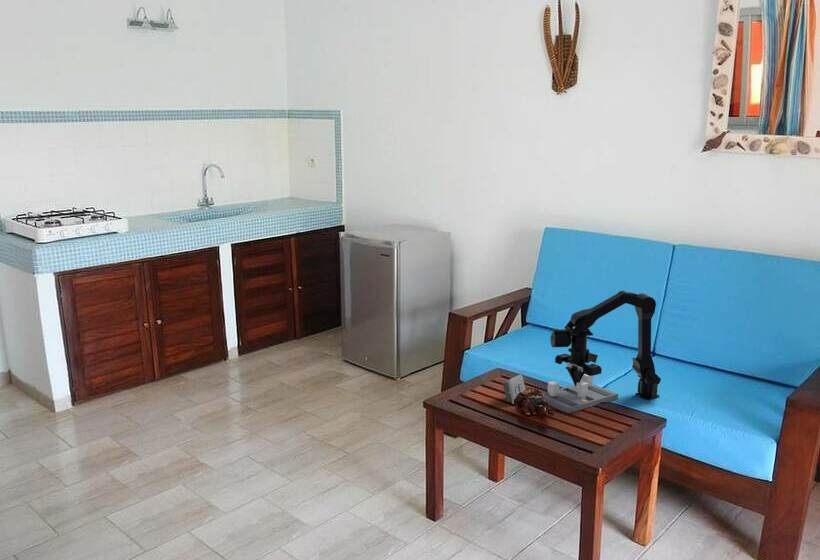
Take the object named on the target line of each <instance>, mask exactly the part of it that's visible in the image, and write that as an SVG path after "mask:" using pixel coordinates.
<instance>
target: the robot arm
mask: <svg viewBox="0 0 820 560" xmlns="http://www.w3.org/2000/svg"><path fill="white" fill-rule="evenodd" d="M625 304H628V305H630V306H633V307H634V310H635V313H636V315H637V319H638V320H637V328H638V329H637V343H638V344H637V355H636V357H632V366H631V368H632V369H633V371H634V372H635V373H636V374H637V377H638V378H639V379H638V383H637V392H636V393H635V396H638V397H640V398H643V399H645V400H649V401H650V400H652V399H657V398H659V397H660V394H658V385H660V384H661V380H662V378H661V377H660V376H658V374H657V372H656V367H655V362H654V360H653V358H652V318H653V316H654V315H655V313H656V312H655V311H656V307H657V302H656V300H655V298H654V297H652V296H650V295H648V294H646V293H643V292H642V293H633V292H629V291H626V290H620V291H618V292H617V293H615V294H614V295H612V296H610V297H609V298H607V299H605V300H603V301H601V302H600V303H598V304H596V305H594V306H593V307H590V308H586V309H581V310H579V311H575V312H574V313H572V315H571V317H570V320H569V321H568V322H567V323H566V325H565V326H564V328H563V329H562V328H561V329H559V328H553V329H552V332H551V334H550V336H549V338H550V346H551V348H568V347H569V346H570V348H568V352H570V354H568V353H566V352H565V353H562V354H557V355H556V356H555V358H554V363H556V364H558V365H561V364H563V362H564V363H565V364H566V366H565V369H566V370H567V372H568V374H569V376H570V378H571V380H572V382H573V385H575V386H576V385H577V382H581V381H582V377H583V375H584V374H586V375H589V376H593V377H595V376H598V375H601V374H602V371H603V369H602V367H601V365H598V364H597V359H598V356H599V355H598V354H596V353H593V352H590V349H588V336H589V337H591V336H592V337H593V336H594V333H593V332H592V331H591V330H590V328H591V327H592V326H594V324H596V322H597V321H598V320H599V319H600V318H602V317H604V316H606V315H607V314H610V313H611V312H613V311H615V310H616V309H618V308H620V307H622V306H623V305H625ZM591 362H592V363H591ZM589 363H591V364H589Z"/></svg>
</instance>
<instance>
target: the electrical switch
mask: <svg viewBox="0 0 820 560" xmlns="http://www.w3.org/2000/svg"><path fill="white" fill-rule="evenodd" d="M502 386H503V391H504V395H505V400H506V403H507V402H510V403H511V404H512V405H513V404H514V399H515V397H516V396H517V395H518V394H519V393H520V392H522V391H524V390H526V387H525V386H526V385H525V382H524V376H523V375H522V374H518V375H516V376H513V377H510V378H509V379H507V380H504V381H503V382H502ZM510 403H509V404H510Z"/></svg>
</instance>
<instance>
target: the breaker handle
mask: <svg viewBox="0 0 820 560" xmlns="http://www.w3.org/2000/svg"><path fill="white" fill-rule="evenodd" d="M576 392H578V394H577V396H579V397H581V398H583V399H586V393H587V392H588V383H586V382H583V381H582V380H581V381H580V382H577V385H576Z"/></svg>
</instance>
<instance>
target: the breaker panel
mask: <svg viewBox="0 0 820 560" xmlns="http://www.w3.org/2000/svg"><path fill="white" fill-rule="evenodd" d="M581 381H583V382H586V383H588V392H587V393H586V399H583V398H581V397H579V396H577V394H578V392H576V386H575V385H574V384H571V385H568V386H565V387H561V388H560V383H559V382H558V381H553V380H552V381H549V382H547V392H543V393H541V394H542V395H543V398H544V399H545V401H546V402H547V403H548V404H547V405H549V406H551V407H553V408H555V409H558V410H560V411H561V412H564V413H566V412H567V413H566V414H568V413H569V414H572V413H571V412H573V413H575V411H576V412H579V411H582V409H583V410H585V408H586V409H589V408H592V406H593V407H596V406H598V405H597V404H599V403H600V402H606V403H609V402H612V401H616V400H619V394H618V393H616V392H614V391H611V390H610V389H606V388H604V387H601V386H599V385H596V384H594V376H589V375H586V374H584V375H583V377H582V379H581ZM595 405H596V406H595ZM599 405H600V404H599ZM588 407H589V408H588ZM578 410H579V411H578Z"/></svg>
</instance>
